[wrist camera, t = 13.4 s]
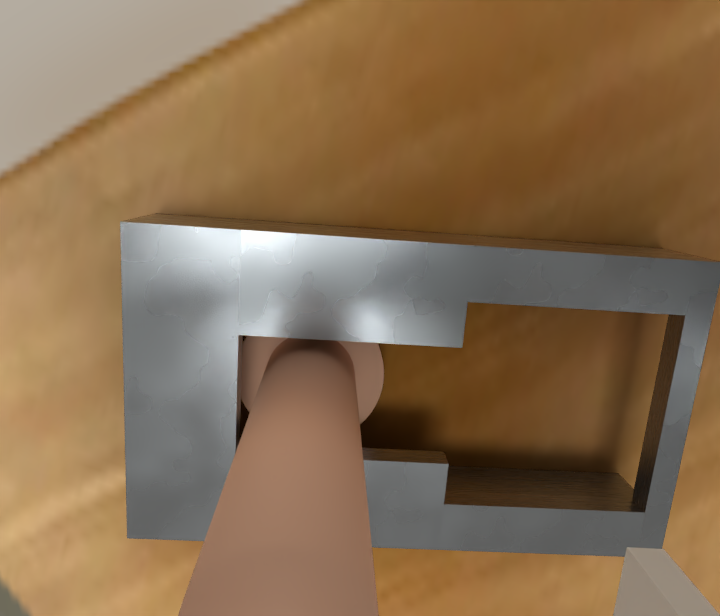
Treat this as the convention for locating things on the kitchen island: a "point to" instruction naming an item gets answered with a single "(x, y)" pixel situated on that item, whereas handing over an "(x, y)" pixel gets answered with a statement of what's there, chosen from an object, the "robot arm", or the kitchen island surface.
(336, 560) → the terracotta peg
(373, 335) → the keyhole plate
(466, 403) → the kitchen island surface
